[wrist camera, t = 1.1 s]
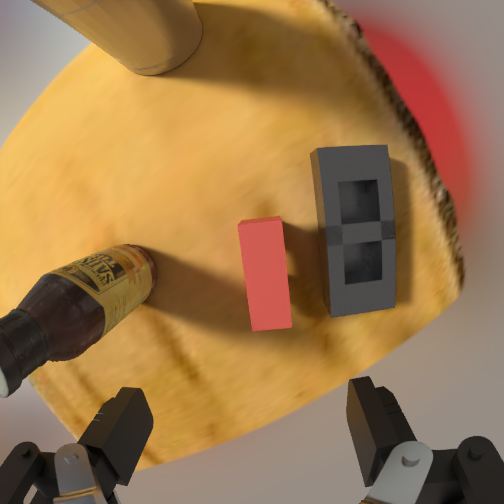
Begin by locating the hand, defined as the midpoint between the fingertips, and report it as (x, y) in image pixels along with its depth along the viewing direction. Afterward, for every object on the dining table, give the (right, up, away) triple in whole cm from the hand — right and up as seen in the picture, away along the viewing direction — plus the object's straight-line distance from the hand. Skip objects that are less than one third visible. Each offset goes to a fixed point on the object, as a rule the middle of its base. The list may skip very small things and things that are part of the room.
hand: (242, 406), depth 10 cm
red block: (+2, +5, +18) cm, 19 cm away
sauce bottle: (-12, +4, +19) cm, 23 cm away
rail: (+9, +8, +17) cm, 21 cm away
